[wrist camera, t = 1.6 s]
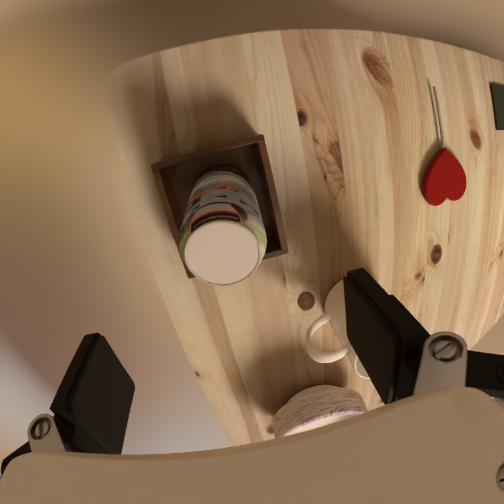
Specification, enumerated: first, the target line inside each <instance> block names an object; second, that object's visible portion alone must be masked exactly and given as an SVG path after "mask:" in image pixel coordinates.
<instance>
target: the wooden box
mask: <svg viewBox="0 0 504 504" xmlns="http://www.w3.org/2000/svg"><path fill="white" fill-rule="evenodd" d="M219 165H227V166H232V167H235V168H237V169H239V170H241V171H242V172H244V173H245V174H246V175H247V176H248V177H249V179H250V180H251V182H252V184H253V187H254V191H255V195H256V198H257V202H258V206H259V209H260V213H261V217H262V221H263V225H264V228H265V232H266V239H267V244H266V250H265V254H264V256H263V258H262V260H264V259H268V258H272V257H276V256H280V255H284V254H288V248H287V243H286V238H285V233H284V228H283V223H282V218H281V213H280V208H279V203H278V199H277V194H276V189H275V185H274V180H273V175H272V171H271V166H270V162H269V157H268V153H267V149H266V144H265V140H264V136H263V134H255V135H250V136H246V137H242V138H238V139H233V140H229V141H225V142H221V143H218V144H214V145H210V146H206V147H203V148H199V149H195V150H192V151H189V152H185V153H182V154H178V155H175V156H172V157H169V158H166V159H162V160H160V161H158V162H156V163H154V164H152V165H151V167H152V171H153V174H154V177H155V181H156V184H157V187H158V190H159V194H160V197H161V200H162V203H163V206H164V209H165V212H166V216H167V219H168V222H169V225H170V228H171V231H172V234H173V236H174V239H175V242H176V245H177V248H178V251H179V244H178V240H179V233H180V229H181V226H182V222H183V218H184V215H185V211H186V208H187V204H188V201H189V198H190V194H191V191H192V188H193V185H194V182H195V181H196V179H197V178H198V176H199V175H200V174H201V173H203V172H204V171H205V170H207V169H209V168H211V167H214V166H219ZM179 254H180V251H179ZM180 257H181V254H180ZM181 259H182V262H183V265H184V268H185V270H186V273H187V276H188V278H193V277H196V276H194V275H193V274H192V272H191V271H190V270H189V268H188V266H187V265H186V264H185V262H184V260H183V258H182V257H181Z"/></svg>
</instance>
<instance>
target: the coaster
mask: <svg viewBox="0 0 504 504" xmlns="http://www.w3.org/2000/svg"><path fill="white" fill-rule="evenodd" d="M490 88H491V94H492V100H493V107H494V115H495V124H496V130H504V87H502V86H497V85H490Z"/></svg>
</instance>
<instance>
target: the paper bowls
mask: <svg viewBox="0 0 504 504" xmlns="http://www.w3.org/2000/svg"><path fill="white" fill-rule="evenodd" d="M365 412H368V410H367V408H366V405H365V403H364V401H363V399H362V397H361V395H360V394H359V393H358V392H356V391H354V390H352V389H348V388H341V387H337V386H333V385H318V386H313V387H310V388H307V389H304V390H302V391H300V392H298V393H297V394H295V395H294V396H293V397H292V398H291V399H290V400H289V401H288V402H287V403H286V404H285V405H284V406H282V407H281V408H280V409H279V410H278V411H277V413H276V414H275V416H274V418H273V422H272V426H273V431H274V435H275V439H276V438H280V437H285V436H289V435H293V434H297V433H301V432H304V431H308V430H312V429H315V428H319V427H322V426H325V425H329V424H332V423H335V422H338V421H342V420H345V419H348V418H351V417H354V416H357V415H360V414H362V413H365Z"/></svg>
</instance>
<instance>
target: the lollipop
mask: <svg viewBox="0 0 504 504" xmlns="http://www.w3.org/2000/svg"><path fill="white" fill-rule="evenodd" d="M433 91H434V96H435V101H436V107H437V113H438V119H439V126H440V134H441V143H442V148H441V149H440V151H439V152H438V153H437V154H436V156H435V157H434V159H433V160H432V162H431V163H430V165H429V167H428V169H427V171H426V174H425V177H424V180H423V185H422V191H423V196H424V198H425V200H426V201H427V202H428V203H429V204H430V205H433V206H437V205H440V204H442V203H443V202H444V201H445V199H446V197H447V198H448V199H450V200H452V201H455V200H458V199H460V198H461V197H462V196H463V194H464V192H465V189H466V176H465V173H464V170H463V168H462V166H461V164H460V163H459V162H458V160H457V159H456V158H455V157H454V156H453V155H452V154H451V153H450V152H449V151H448V150H446V149H445V147H444V138H443V129H442V122H441V115H440V109H439V103H438V98H437V92H436V87H435V86H434V87H433Z"/></svg>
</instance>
